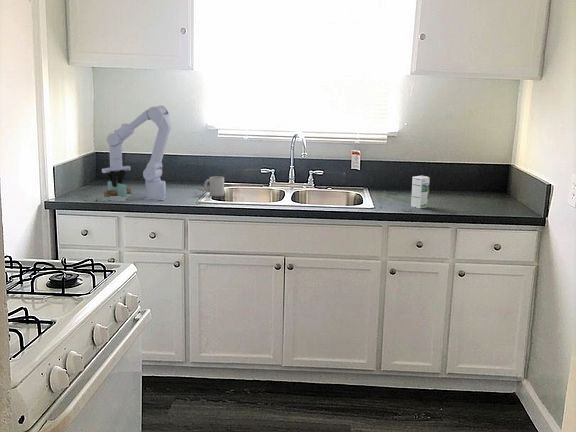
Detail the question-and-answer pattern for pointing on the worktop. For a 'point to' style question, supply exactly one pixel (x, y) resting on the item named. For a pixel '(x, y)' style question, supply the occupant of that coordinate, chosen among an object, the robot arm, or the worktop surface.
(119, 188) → the teal bar
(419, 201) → the syrup box
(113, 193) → the brown notched bar
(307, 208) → the worktop surface
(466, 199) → the worktop surface
